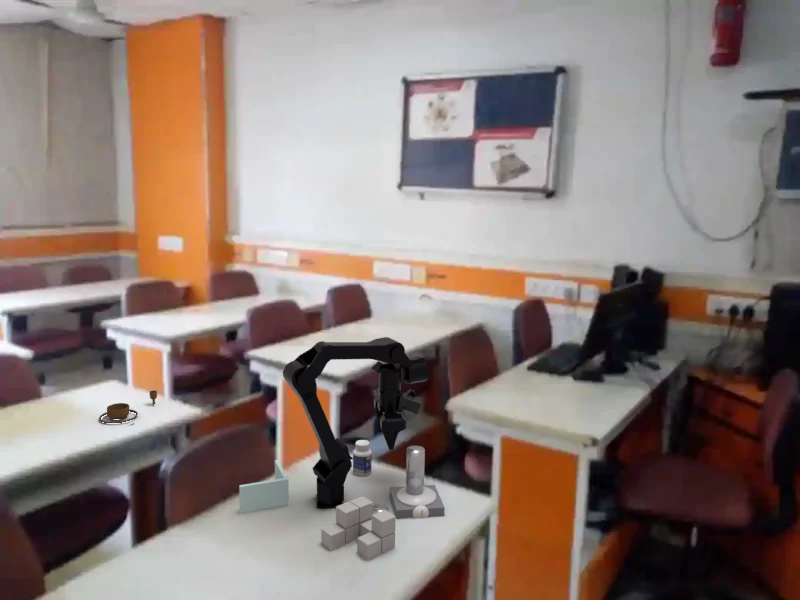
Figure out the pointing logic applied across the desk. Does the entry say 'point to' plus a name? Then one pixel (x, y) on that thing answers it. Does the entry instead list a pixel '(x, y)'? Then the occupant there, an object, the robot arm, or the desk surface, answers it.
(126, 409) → the place setting
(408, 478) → the cylinder
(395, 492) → the scale
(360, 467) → the pill bottle
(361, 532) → the puzzle cube
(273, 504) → the l-shaped corner panel
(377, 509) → the short steel spacer
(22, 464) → the desk surface
